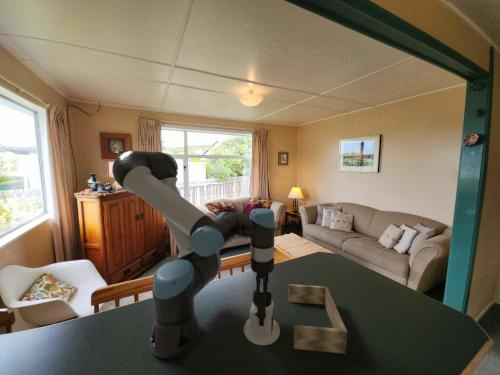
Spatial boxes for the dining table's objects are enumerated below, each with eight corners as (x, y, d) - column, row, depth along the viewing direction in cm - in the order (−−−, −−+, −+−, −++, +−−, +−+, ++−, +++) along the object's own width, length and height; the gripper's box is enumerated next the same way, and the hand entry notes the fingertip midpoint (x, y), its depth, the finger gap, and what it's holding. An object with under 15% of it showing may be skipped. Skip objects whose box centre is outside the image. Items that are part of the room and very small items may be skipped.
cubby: (293, 348, 62) (294, 327, 61) (288, 300, 83) (288, 284, 83) (345, 353, 60) (347, 332, 59) (326, 303, 82) (327, 286, 81)
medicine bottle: (271, 336, 64) (272, 300, 63) (249, 332, 66) (249, 297, 64) (273, 319, 71) (274, 287, 70) (253, 316, 73) (253, 284, 71)
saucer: (241, 343, 63) (241, 342, 63) (246, 315, 75) (246, 314, 75) (280, 347, 62) (280, 346, 62) (279, 317, 74) (279, 316, 74)
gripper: (274, 274, 55) (273, 351, 58) (273, 245, 75) (273, 302, 78) (247, 273, 56) (247, 348, 59) (253, 244, 76) (253, 301, 79)
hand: (262, 322), depth 68 cm, fingers closed on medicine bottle, 7 cm apart
